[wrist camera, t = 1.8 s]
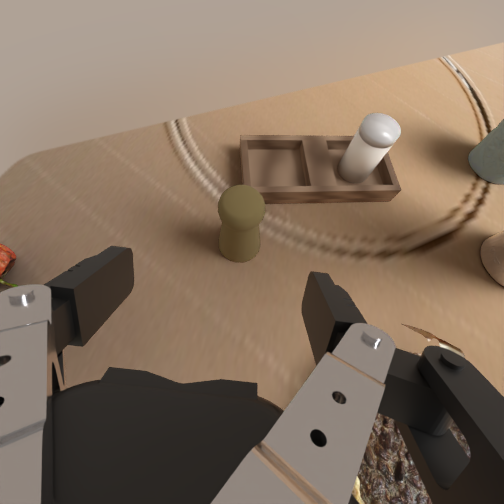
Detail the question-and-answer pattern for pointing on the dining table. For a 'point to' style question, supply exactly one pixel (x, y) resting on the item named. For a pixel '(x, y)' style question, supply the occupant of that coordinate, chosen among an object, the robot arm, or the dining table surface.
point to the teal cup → (490, 156)
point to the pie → (395, 459)
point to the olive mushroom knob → (240, 222)
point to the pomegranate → (6, 263)
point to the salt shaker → (368, 147)
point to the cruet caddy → (309, 170)
